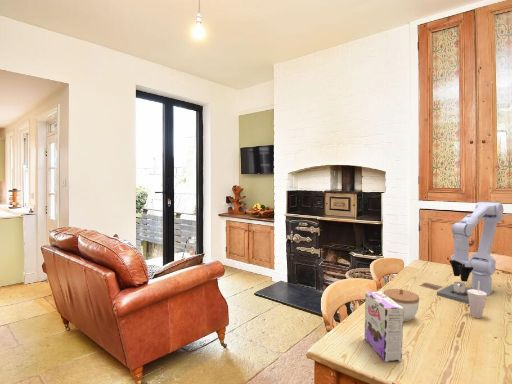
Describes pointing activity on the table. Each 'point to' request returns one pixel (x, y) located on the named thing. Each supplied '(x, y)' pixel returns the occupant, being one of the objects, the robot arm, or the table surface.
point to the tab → (431, 286)
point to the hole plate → (449, 294)
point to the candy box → (384, 326)
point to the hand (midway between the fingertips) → (460, 278)
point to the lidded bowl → (404, 301)
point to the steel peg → (459, 288)
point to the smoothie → (476, 301)
